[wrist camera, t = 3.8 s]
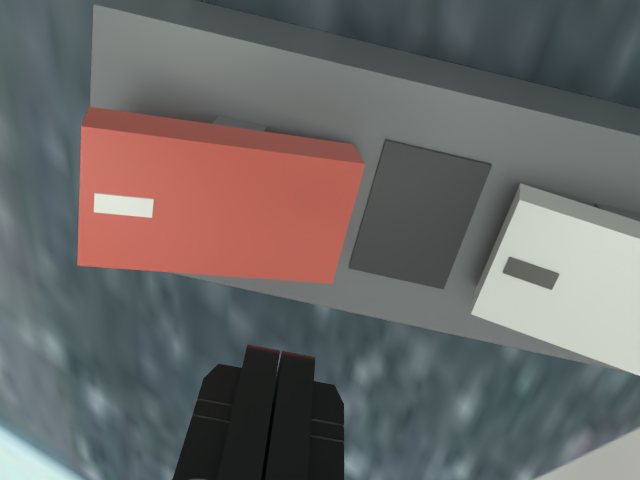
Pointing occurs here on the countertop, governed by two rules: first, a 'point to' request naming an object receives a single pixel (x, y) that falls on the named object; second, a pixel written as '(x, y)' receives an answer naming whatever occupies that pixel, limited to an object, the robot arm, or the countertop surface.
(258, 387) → the robot arm
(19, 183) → the countertop surface
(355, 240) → the rocker switch panel
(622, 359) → the white rocker
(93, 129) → the block
